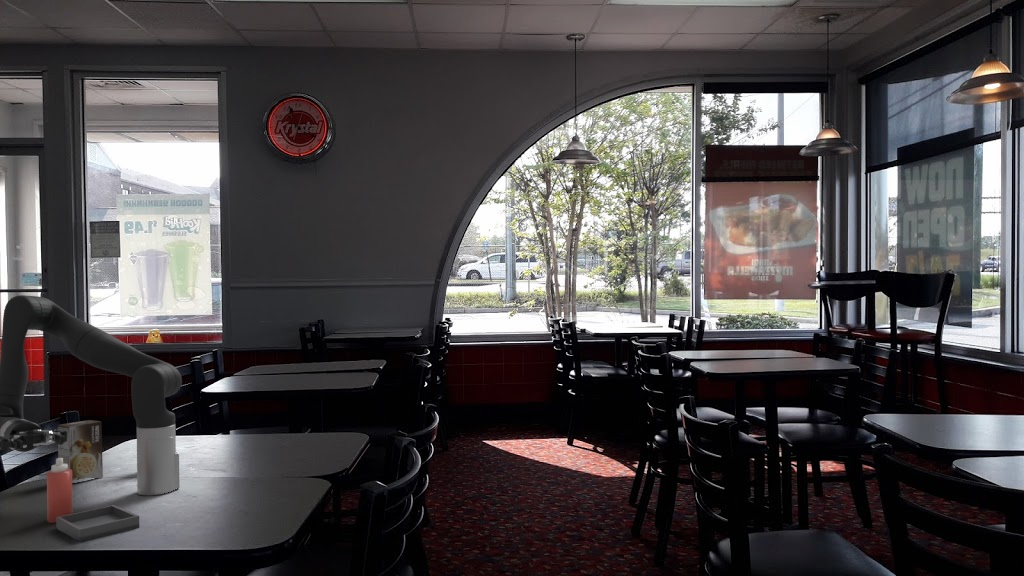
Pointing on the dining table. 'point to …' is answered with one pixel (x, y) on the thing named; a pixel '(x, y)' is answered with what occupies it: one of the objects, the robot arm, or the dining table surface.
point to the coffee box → (82, 449)
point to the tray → (97, 522)
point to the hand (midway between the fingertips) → (42, 443)
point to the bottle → (59, 491)
